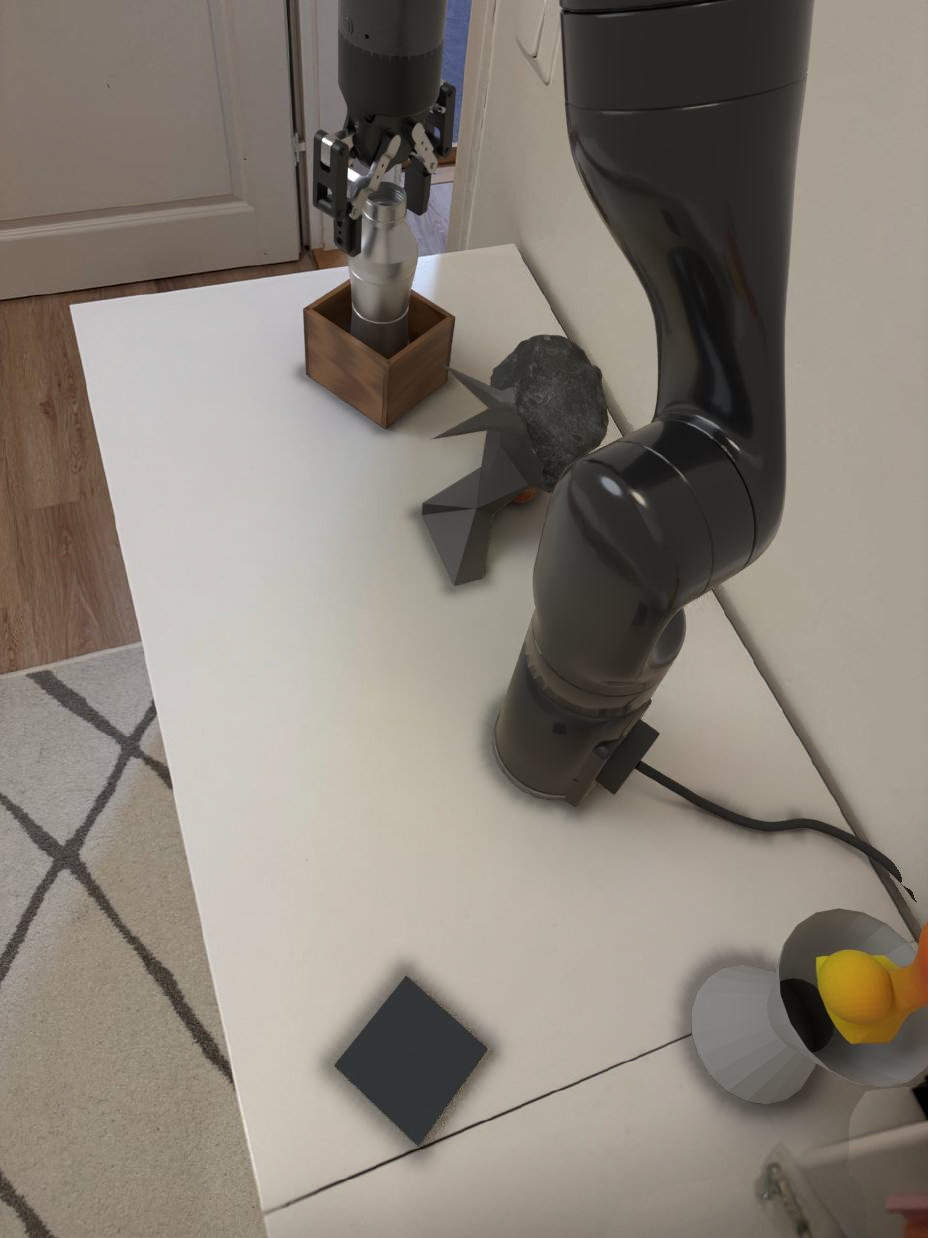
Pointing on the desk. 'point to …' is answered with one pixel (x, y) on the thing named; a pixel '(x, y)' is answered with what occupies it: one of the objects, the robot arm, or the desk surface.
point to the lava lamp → (818, 1010)
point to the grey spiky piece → (517, 443)
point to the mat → (411, 1059)
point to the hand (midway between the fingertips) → (382, 230)
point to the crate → (377, 356)
